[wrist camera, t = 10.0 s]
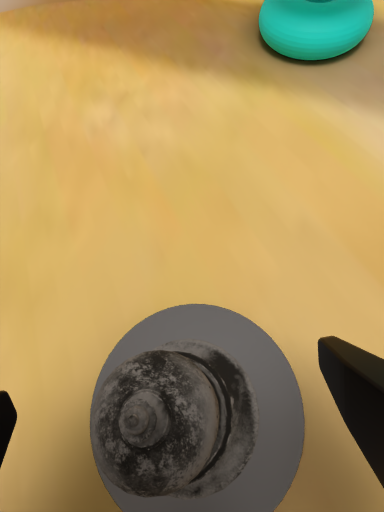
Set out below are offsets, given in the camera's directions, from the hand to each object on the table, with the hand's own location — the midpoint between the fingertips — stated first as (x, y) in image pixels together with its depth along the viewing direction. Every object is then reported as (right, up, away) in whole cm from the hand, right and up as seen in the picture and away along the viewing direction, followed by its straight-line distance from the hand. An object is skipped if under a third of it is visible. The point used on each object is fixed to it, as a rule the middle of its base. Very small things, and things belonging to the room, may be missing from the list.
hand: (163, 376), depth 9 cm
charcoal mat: (+1, -5, +8) cm, 9 cm away
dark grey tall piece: (+1, -5, +7) cm, 9 cm away
